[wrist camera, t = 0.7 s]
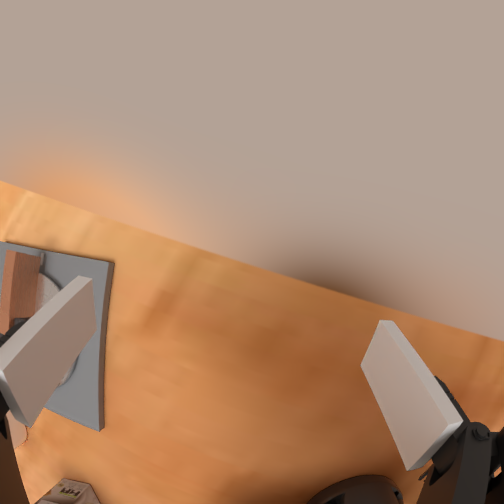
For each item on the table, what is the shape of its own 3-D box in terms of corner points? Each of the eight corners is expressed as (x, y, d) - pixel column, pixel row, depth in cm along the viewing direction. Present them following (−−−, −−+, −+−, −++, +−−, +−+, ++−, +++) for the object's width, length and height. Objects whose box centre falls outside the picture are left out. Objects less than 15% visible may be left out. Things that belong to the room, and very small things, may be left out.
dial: (78, 405, 28) (51, 420, 22) (1, 366, 29) (-26, 372, 22) (86, 266, 31) (56, 260, 25) (7, 249, 31) (-21, 242, 25)
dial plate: (104, 427, 29) (98, 431, 28) (-1, 375, 30) (-8, 377, 28) (114, 263, 32) (108, 261, 31) (5, 242, 33) (-1, 241, 31)
